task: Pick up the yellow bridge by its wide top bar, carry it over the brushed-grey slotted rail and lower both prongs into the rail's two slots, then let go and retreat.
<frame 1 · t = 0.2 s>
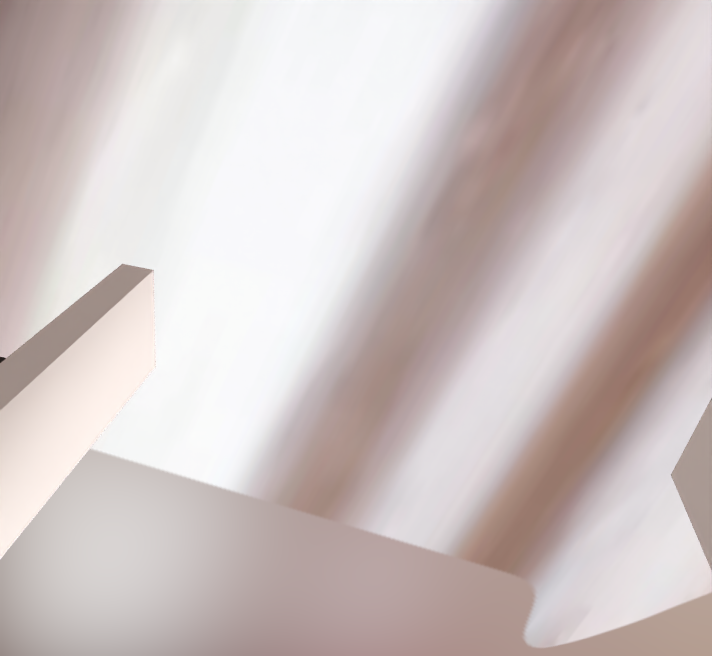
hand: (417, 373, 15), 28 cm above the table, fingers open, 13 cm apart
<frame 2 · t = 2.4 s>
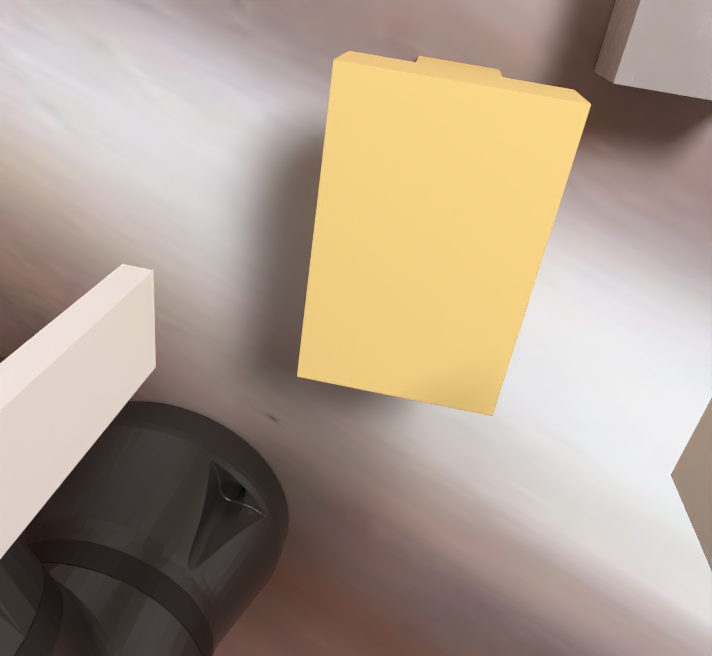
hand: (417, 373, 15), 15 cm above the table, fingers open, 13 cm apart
yellow bridge: (431, 195, 27), on the table
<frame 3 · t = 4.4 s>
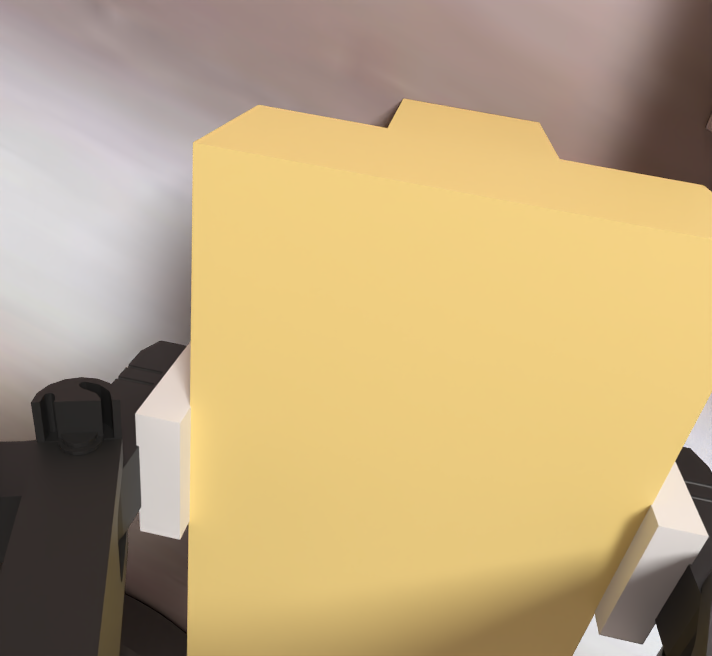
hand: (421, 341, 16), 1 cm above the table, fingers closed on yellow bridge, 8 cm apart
yellow bridge: (424, 314, 17), on the table, touching gripper
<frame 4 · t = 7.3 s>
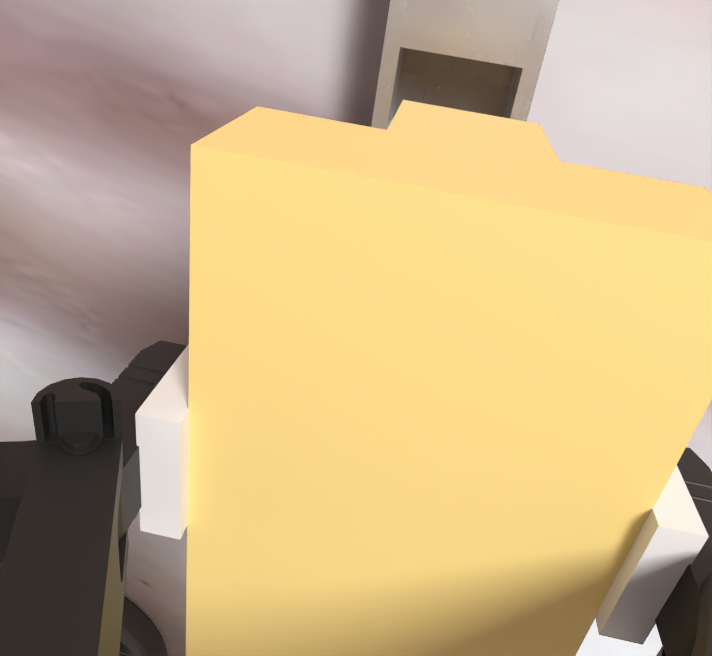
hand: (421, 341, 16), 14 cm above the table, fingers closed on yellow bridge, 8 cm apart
rail: (430, 195, 28), on the table
yellow bridge: (424, 316, 17), point 12 cm above the table, touching gripper
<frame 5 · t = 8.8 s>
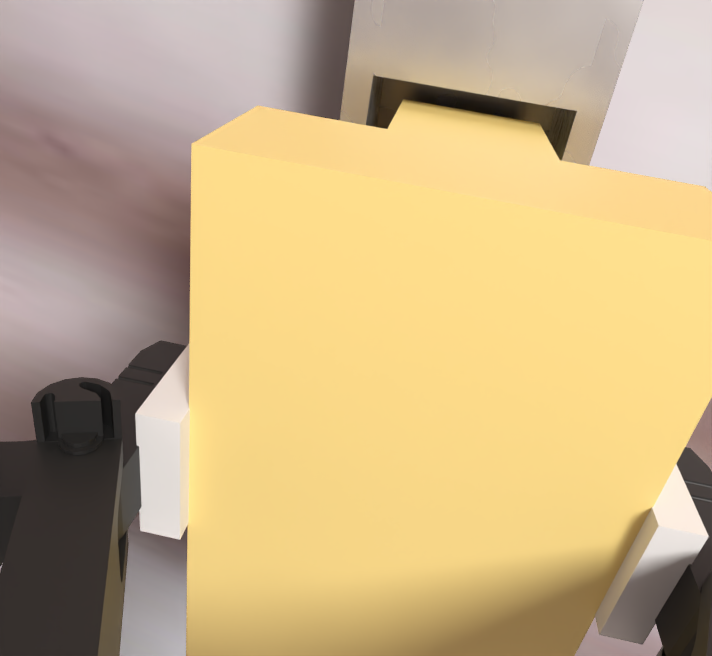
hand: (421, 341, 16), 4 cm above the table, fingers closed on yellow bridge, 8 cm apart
rail: (425, 281, 19), on the table
yellow bridge: (424, 315, 17), point 2 cm above the table, touching gripper
when the fingers open (3 cm above the table, at t = 10.0 s): yellow bridge stays where it is, resting on rail.
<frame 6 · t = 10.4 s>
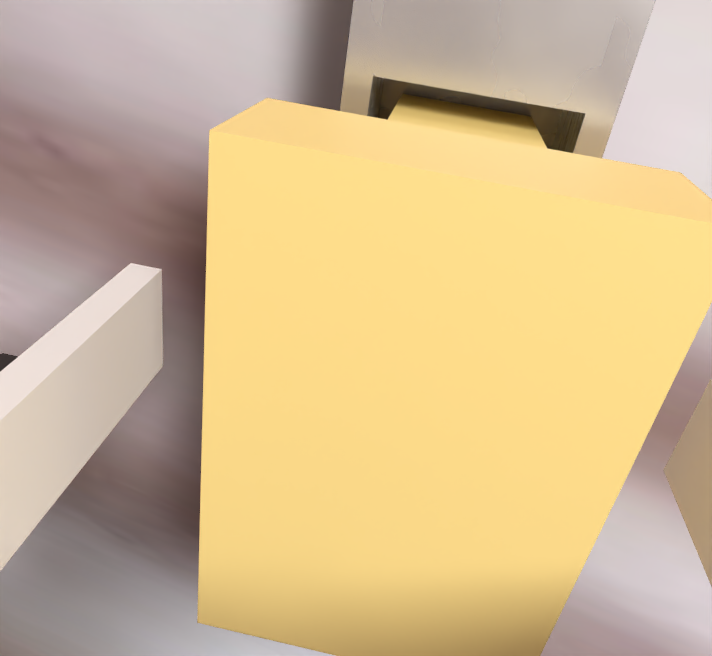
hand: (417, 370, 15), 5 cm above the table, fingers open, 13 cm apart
rail: (427, 287, 19), on the table
yellow bridge: (422, 301, 18), point 1 cm above the table, touching rail
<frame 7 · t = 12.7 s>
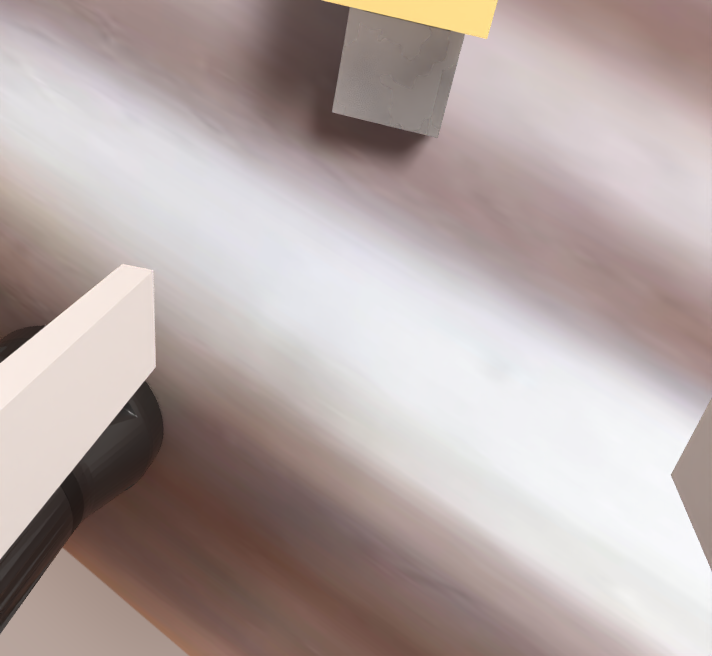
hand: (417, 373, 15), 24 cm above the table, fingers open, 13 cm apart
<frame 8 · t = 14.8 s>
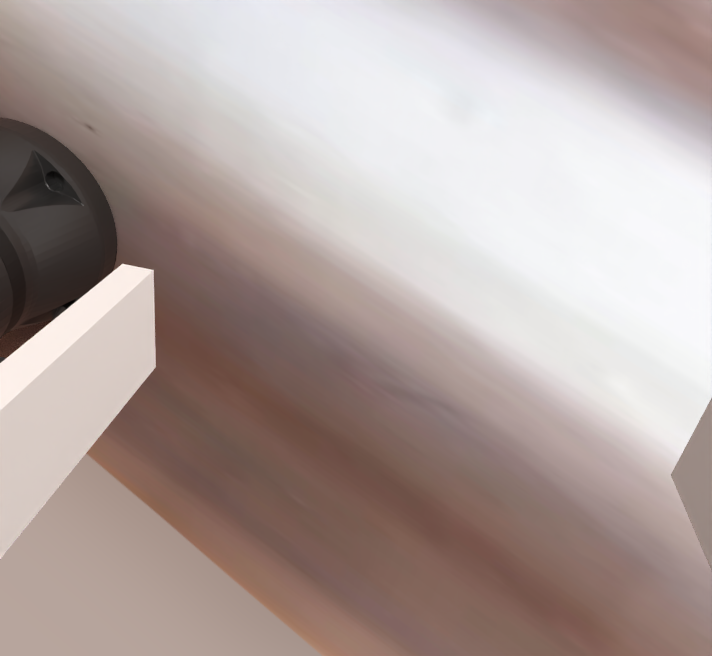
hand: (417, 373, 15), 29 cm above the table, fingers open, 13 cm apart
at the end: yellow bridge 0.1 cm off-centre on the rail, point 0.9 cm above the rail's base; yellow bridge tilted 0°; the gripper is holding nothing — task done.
